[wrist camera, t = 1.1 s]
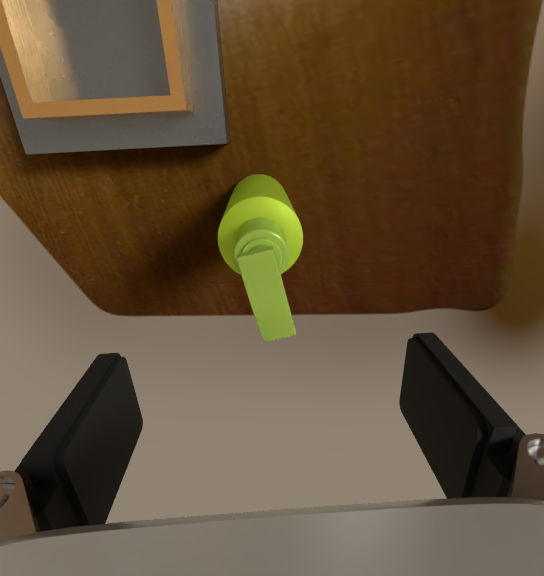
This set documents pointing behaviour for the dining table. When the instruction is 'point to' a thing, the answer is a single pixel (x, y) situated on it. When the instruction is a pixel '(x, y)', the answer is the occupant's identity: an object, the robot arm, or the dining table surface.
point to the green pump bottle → (262, 249)
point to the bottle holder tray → (113, 73)
